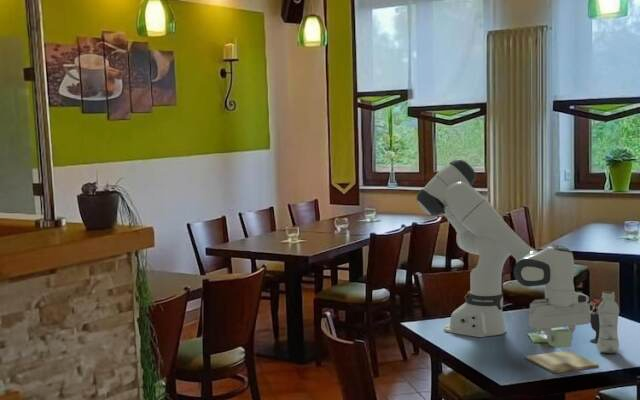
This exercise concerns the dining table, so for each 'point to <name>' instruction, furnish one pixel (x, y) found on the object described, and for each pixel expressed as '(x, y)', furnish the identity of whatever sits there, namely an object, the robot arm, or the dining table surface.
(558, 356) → the tan square board
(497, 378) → the dining table surface
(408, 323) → the dining table surface
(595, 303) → the flower
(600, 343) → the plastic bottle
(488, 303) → the robot arm
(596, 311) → the sundae
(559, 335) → the sage block
